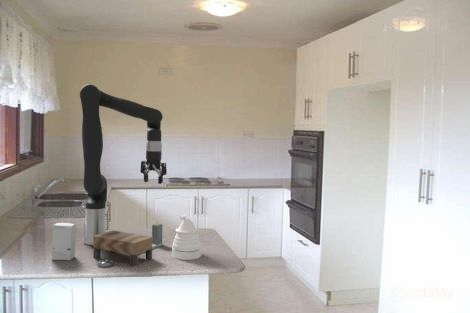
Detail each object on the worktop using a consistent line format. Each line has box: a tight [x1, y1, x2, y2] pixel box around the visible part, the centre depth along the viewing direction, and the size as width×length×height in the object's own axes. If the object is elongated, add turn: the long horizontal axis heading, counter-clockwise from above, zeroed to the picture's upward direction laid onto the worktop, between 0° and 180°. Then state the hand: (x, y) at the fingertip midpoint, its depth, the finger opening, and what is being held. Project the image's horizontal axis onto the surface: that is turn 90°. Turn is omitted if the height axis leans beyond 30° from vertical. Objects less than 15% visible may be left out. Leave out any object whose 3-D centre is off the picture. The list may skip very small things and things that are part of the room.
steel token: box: [97, 259, 114, 268], centre depth 191 cm, size 6×6×2 cm
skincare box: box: [51, 222, 77, 261], centre depth 198 cm, size 8×6×15 cm
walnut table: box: [93, 230, 153, 267], centre depth 200 cm, size 22×12×10 cm, turn 63°
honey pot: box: [171, 214, 202, 261], centre depth 207 cm, size 13×13×18 cm
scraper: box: [137, 222, 164, 256], centre depth 215 cm, size 20×4×10 cm, turn 153°
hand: (153, 182), depth 229 cm, fingers open, 8 cm apart
